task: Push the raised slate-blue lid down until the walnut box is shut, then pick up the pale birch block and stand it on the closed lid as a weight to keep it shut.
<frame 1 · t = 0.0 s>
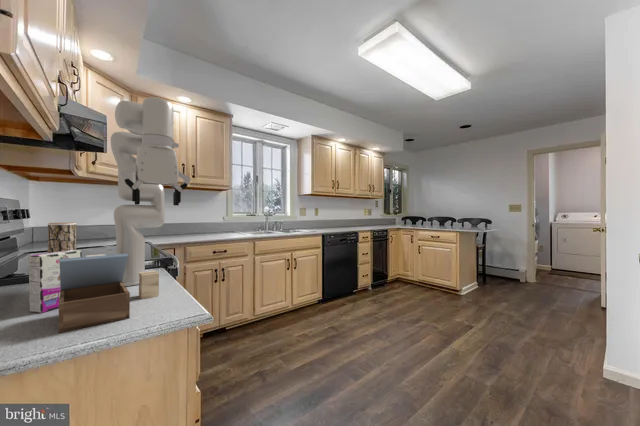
hand: (157, 204, 77), 31 cm above the countertop, tool pointing down, fingers open, 9 cm apart
birch block: (148, 295, 94), on the countertop
candy bar box: (56, 306, 82), on the countertop
box lid: (94, 270, 77), point 12 cm above the countertop, hinge at 40.0°, touching walnut box
walnut box: (94, 316, 75), on the countertop
bark log: (61, 299, 89), on the countertop
coffee box: (54, 296, 92), on the countertop
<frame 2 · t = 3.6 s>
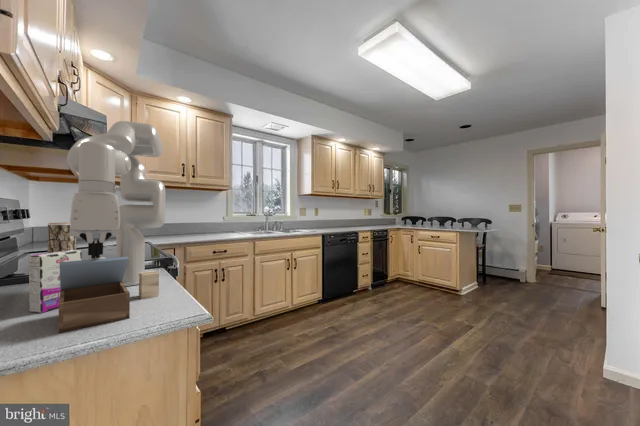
hand: (95, 257, 72), 17 cm above the countertop, tool pointing down, fingers closed
box lid: (94, 272, 76), point 12 cm above the countertop, hinge at 36.2°, touching gripper, walnut box
everything else where it was.
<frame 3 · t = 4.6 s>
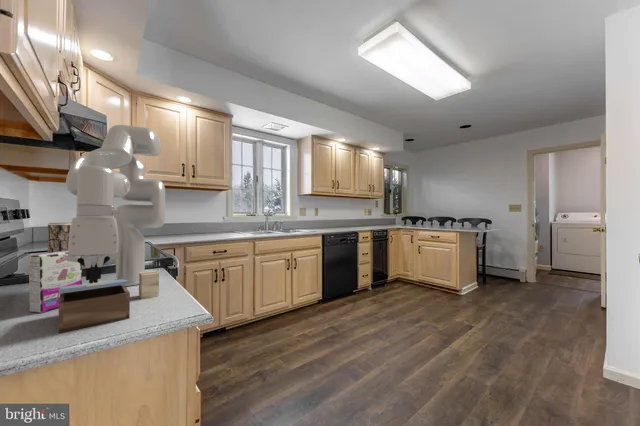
hand: (93, 282, 71), 10 cm above the countertop, tool pointing down, fingers closed
box lid: (94, 284, 75), point 9 cm above the countertop, hinge at 9.1°, touching gripper, walnut box
everything else where it was.
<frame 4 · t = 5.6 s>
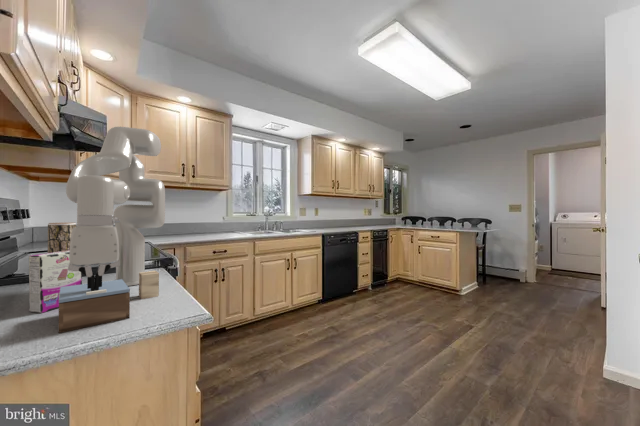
hand: (94, 290, 73), 8 cm above the countertop, tool pointing down, fingers closed
box lid: (94, 288, 75), point 8 cm above the countertop, hinge at 0.9°, touching gripper, walnut box
everything else where it was.
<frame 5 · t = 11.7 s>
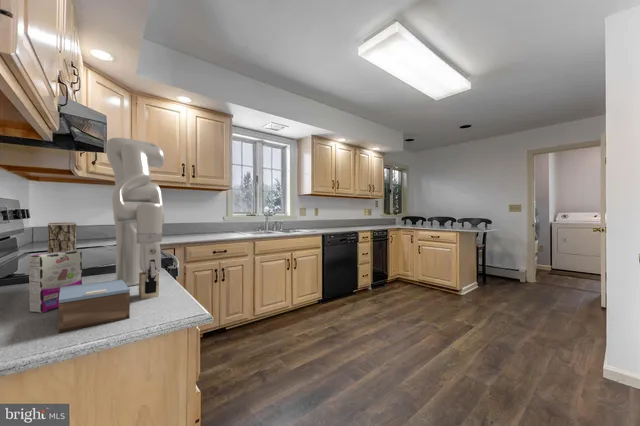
hand: (148, 290, 94), 2 cm above the countertop, tool pointing down, fingers closed on birch block, 5 cm apart
birch block: (148, 295, 94), on the countertop, touching gripper
box lid: (94, 288, 75), point 8 cm above the countertop, hinge at 0.7°, touching walnut box
everything else where it was.
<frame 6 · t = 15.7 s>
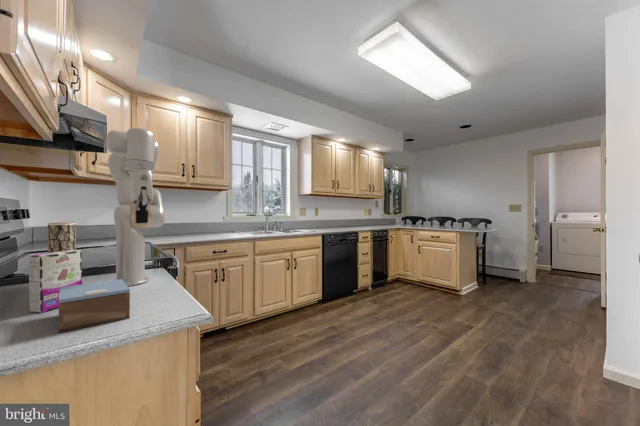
hand: (139, 222, 89), 26 cm above the countertop, tool pointing down, fingers closed on birch block, 5 cm apart
birch block: (139, 227, 89), point 24 cm above the countertop, touching gripper
everything else where it was.
when the fingers open (11 cm above the countertop, at t = 19.8 s): birch block drops 1 cm, resting on box lid.
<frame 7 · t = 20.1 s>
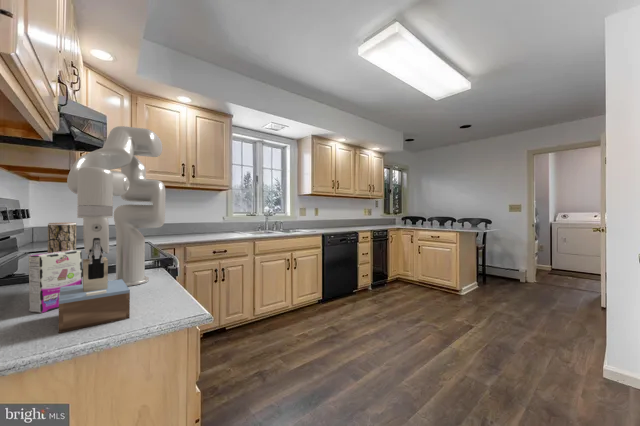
hand: (94, 275, 75), 11 cm above the countertop, tool pointing down, fingers open, 8 cm apart
birch block: (95, 288, 75), point 8 cm above the countertop, touching box lid
box lid: (94, 288, 75), point 8 cm above the countertop, hinge at 0.0°, touching birch block, walnut box
everything else where it was.
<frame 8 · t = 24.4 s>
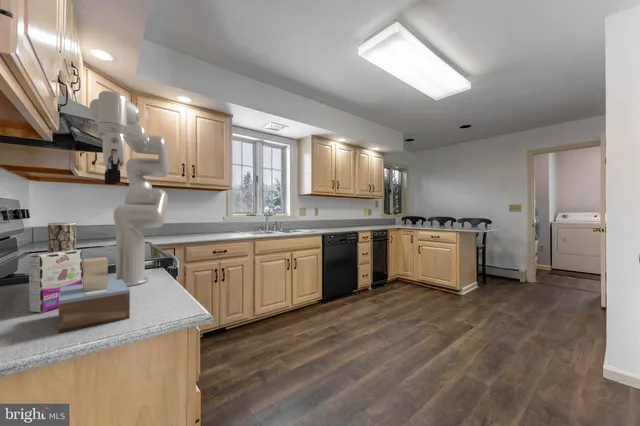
hand: (112, 183, 90), 38 cm above the countertop, tool pointing down, fingers open, 9 cm apart
nothing on the countertop moved.
at the end: box lid at +0° (first picture: +40°); birch block inside the target area on the walnut box (0.1 cm from its centre), point 7.8 cm above the walnut box's base; birch block tilted 0° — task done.
